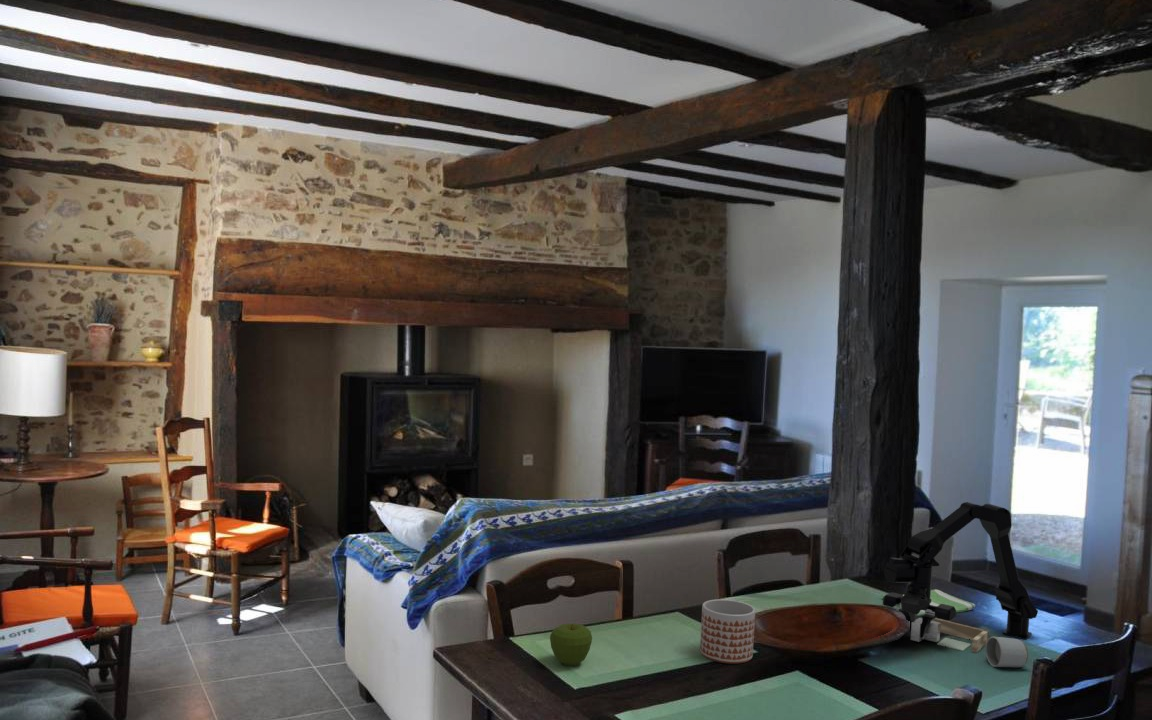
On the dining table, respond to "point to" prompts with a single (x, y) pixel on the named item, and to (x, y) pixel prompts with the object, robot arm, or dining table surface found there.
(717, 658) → the planter
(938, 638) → the bracket
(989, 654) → the ceramic mug
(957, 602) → the dish towel
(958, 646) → the pad
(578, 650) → the apple
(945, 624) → the corner arena
